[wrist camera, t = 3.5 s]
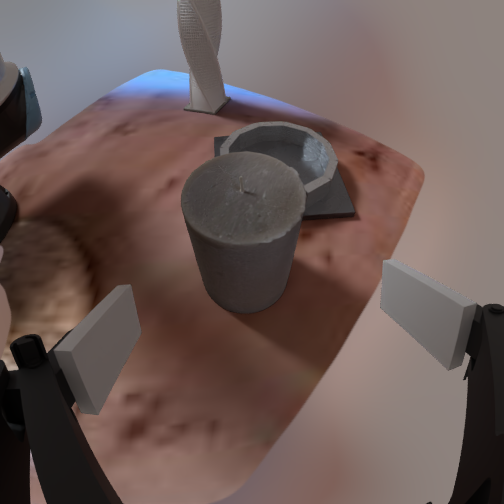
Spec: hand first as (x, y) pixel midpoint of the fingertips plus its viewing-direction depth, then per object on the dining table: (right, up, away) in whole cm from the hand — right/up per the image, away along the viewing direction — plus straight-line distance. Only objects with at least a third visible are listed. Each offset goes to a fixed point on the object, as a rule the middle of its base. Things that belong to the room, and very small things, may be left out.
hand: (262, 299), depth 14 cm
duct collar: (+3, +14, +28) cm, 31 cm away
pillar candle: (-1, 0, +19) cm, 19 cm away
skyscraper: (-9, +31, +39) cm, 51 cm away
